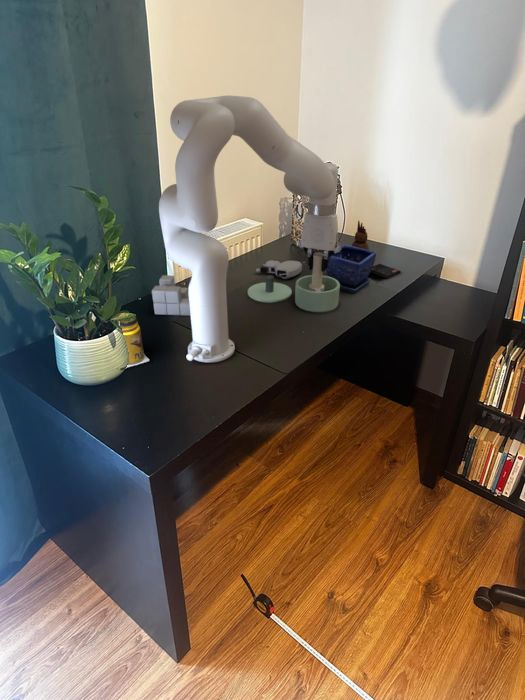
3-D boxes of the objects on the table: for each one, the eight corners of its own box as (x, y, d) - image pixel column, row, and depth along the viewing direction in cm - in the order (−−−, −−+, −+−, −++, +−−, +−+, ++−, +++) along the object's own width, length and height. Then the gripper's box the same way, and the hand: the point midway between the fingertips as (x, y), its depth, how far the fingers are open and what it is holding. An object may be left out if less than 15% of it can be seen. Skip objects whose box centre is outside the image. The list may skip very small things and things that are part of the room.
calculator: (400, 273, 179) (401, 265, 177) (380, 281, 172) (381, 273, 170) (379, 265, 185) (380, 258, 183) (359, 274, 178) (360, 266, 177)
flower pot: (374, 284, 170) (378, 251, 164) (356, 297, 161) (359, 263, 155) (340, 275, 177) (343, 243, 171) (321, 287, 168) (323, 254, 162)
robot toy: (254, 278, 177) (291, 284, 170) (253, 266, 175) (290, 271, 168) (271, 267, 186) (307, 272, 179) (270, 255, 184) (307, 260, 177)
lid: (282, 307, 156) (283, 289, 152) (240, 299, 160) (239, 282, 157) (297, 289, 167) (298, 272, 164) (257, 282, 172) (257, 266, 169)
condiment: (149, 360, 129) (144, 320, 123) (118, 371, 125) (110, 329, 119) (139, 348, 135) (133, 309, 128) (109, 358, 131) (101, 317, 124)
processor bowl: (331, 316, 150) (333, 295, 146) (289, 309, 155) (289, 288, 151) (343, 298, 161) (344, 278, 157) (302, 292, 165) (303, 272, 162)
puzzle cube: (193, 315, 151) (190, 292, 147) (154, 314, 152) (151, 290, 148) (201, 298, 161) (199, 276, 157) (165, 297, 162) (162, 275, 158)
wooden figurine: (347, 258, 191) (351, 219, 184) (361, 256, 193) (365, 218, 185) (355, 264, 186) (359, 225, 178) (369, 262, 187) (374, 223, 180)
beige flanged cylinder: (326, 295, 151) (329, 259, 145) (310, 295, 151) (312, 259, 145) (321, 283, 159) (324, 249, 153) (306, 283, 159) (308, 249, 153)
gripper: (290, 209, 142) (288, 269, 151) (346, 215, 136) (340, 277, 146) (298, 202, 147) (296, 261, 157) (353, 208, 142) (347, 269, 152)
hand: (317, 268), depth 151 cm, fingers closed on beige flanged cylinder, 3 cm apart
